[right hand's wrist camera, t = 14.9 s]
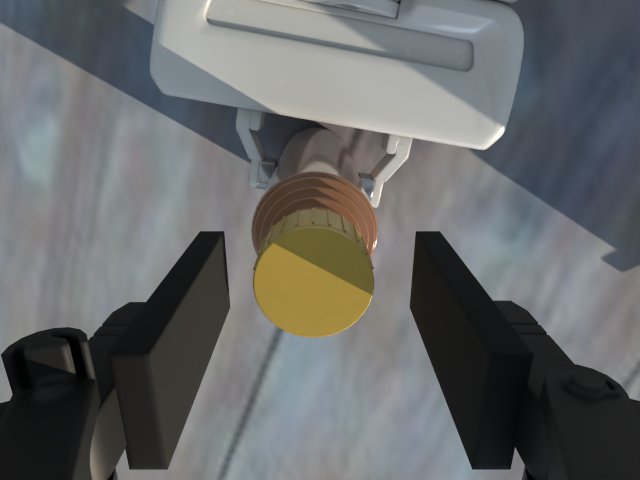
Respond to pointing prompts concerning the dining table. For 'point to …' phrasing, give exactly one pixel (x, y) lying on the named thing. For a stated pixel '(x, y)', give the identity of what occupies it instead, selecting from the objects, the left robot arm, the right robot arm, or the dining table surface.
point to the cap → (313, 274)
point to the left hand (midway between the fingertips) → (314, 195)
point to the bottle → (315, 186)
